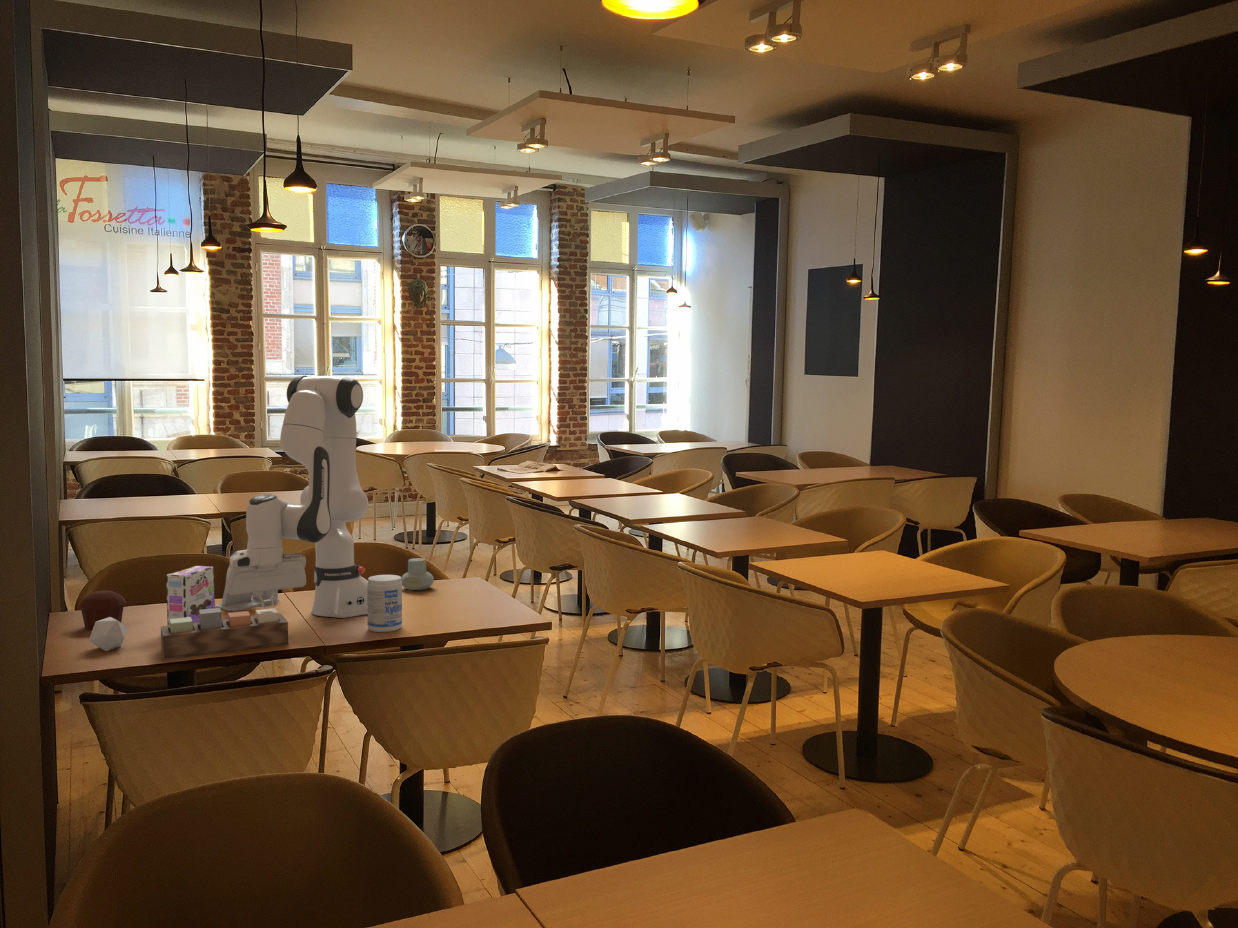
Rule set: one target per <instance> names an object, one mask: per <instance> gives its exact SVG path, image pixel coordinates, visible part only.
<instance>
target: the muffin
mask: <svg viewBox="0 0 1238 928" xmlns="http://www.w3.org/2000/svg"><path fill="white" fill-rule="evenodd" d="M126 602H127V600H125V598H124V597H123V596H122V595H121V594H120V593H117V592H115V591H113V590H108V589H107V590H95V591H94V592H91V593H89V594H87V595H86V596H84V597H83V598H82V599H81V602H80V603H79V605H78V608H80V610H81V615H82V620H83V624H84V628H85V629H86V630H88V631H92V630H93V627H94V625H95V622H96V621H99V620H102V619H105V618H108V617H111V618H114V619H116V620H118V621H119V622H121V623H122V620H123V612H124V605H125V604H126Z"/></svg>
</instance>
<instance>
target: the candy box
mask: <svg viewBox="0 0 1238 928" xmlns="http://www.w3.org/2000/svg"><path fill="white" fill-rule="evenodd" d="M214 572H215V570H214V566H205V565H195V566H192V567H190V568H186V569H183V570H180V571H176V572H172V573H168V574H166V576H165V577H166V578H165V579H166V609H167V610H166V613H167V614H166V615H167V616H166V618H167V619H166V620H167V622H166V623H167V626H170V619H175V618H185V617H191V619H192V622H193V623H199V610H202V609H211V608H216V607H215V605H216V602H215V601H216V600H215V597H216V596H215V576H214V575H215V573H214Z"/></svg>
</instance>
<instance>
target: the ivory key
mask: <svg viewBox="0 0 1238 928" xmlns="http://www.w3.org/2000/svg"><path fill="white" fill-rule="evenodd" d="M278 614H279V611H278V610H277V608H275V607H271V608H264V609H263V608H262V609H256V610H255V616H256V623H257V624H258V623H267V622H276V621H278Z"/></svg>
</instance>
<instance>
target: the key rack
mask: <svg viewBox="0 0 1238 928" xmlns="http://www.w3.org/2000/svg"><path fill="white" fill-rule="evenodd" d="M250 618H251V624H249V625H240V626H231V627H228V618H227V619H222V628H213V629H203V630H200V629H199V623H193V631H185V632H176V633H170V626H168V625H163V626H162V625H161V626H160V638H161V639H160V641H161V643H160V645H161V646H160V647H161V652H162V656H163V659H164V660H169V659H177V658H178V659H179V658H185V657H186V658H187V657H194V656H202V655H208V654H209V655H210V654H217V653H226V652H227V653H229V652H234V651H235V652H236V651H242V650H243V651H244V650H251V649H260V648H268V647H277V646H285V645H289V622H288V620H287V619H286V618H285V616H284V615H283V614H282V613H278V621H276V622H267V623H258V624H257V623H256V615H255V616H250Z"/></svg>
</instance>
